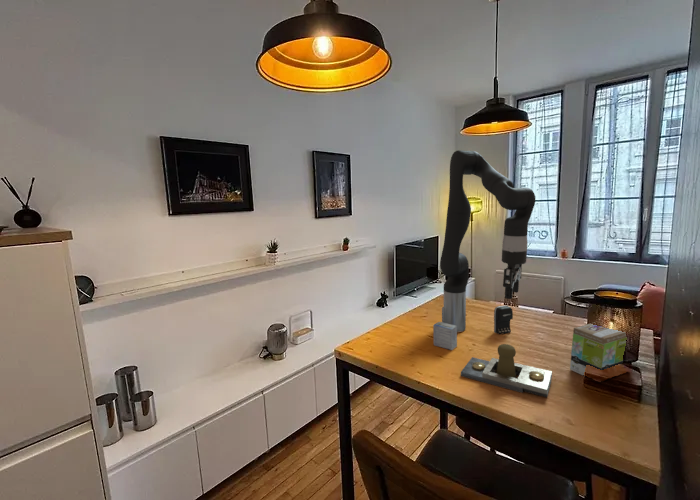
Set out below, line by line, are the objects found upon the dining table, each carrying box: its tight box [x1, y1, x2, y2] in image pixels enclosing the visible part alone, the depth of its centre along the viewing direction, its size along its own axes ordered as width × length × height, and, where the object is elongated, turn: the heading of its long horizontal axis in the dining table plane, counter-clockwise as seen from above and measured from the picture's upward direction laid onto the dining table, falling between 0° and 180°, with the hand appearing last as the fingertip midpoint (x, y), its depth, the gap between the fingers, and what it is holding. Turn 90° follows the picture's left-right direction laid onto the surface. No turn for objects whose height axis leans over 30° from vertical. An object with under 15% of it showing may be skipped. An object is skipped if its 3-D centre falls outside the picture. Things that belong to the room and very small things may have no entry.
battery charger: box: [493, 305, 514, 335], centre depth 144 cm, size 7×4×11 cm, turn 103°
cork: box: [495, 343, 517, 378], centre depth 110 cm, size 6×6×11 cm
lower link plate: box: [460, 356, 524, 394], centre depth 112 cm, size 18×12×2 cm, turn 54°
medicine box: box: [432, 321, 458, 351], centre depth 135 cm, size 8×4×9 cm, turn 47°
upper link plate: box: [482, 357, 553, 398], centre depth 108 cm, size 18×12×4 cm
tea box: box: [569, 323, 627, 376], centre depth 111 cm, size 15×10×15 cm, turn 114°
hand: (511, 295), depth 119 cm, fingers open, 8 cm apart
